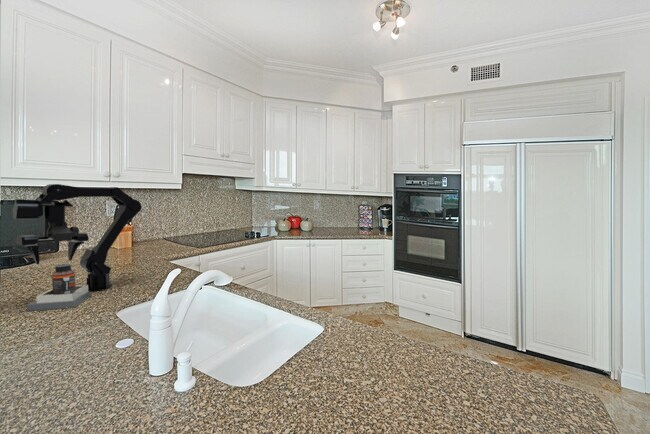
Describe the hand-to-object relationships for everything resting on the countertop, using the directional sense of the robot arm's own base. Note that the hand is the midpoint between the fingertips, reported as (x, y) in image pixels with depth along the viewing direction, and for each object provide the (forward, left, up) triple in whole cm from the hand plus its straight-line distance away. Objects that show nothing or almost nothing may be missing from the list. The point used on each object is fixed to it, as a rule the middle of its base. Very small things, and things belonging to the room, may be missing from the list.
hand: (54, 262), depth 109 cm
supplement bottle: (-6, +7, -11) cm, 14 cm away
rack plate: (-5, +7, -13) cm, 16 cm away
